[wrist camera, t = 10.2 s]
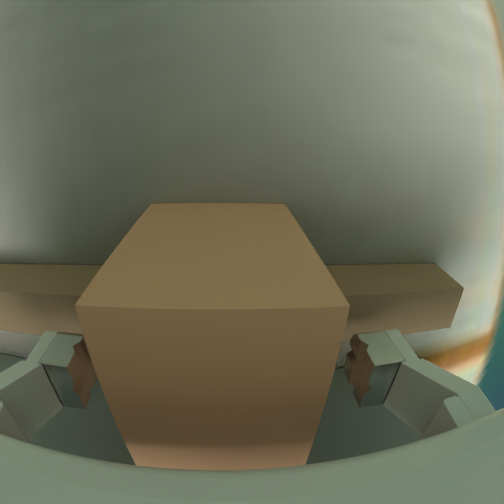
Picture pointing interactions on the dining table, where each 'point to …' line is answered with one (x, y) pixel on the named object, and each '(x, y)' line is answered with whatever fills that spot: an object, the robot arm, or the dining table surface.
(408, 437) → the cleat board
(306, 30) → the dining table surface
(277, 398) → the block
